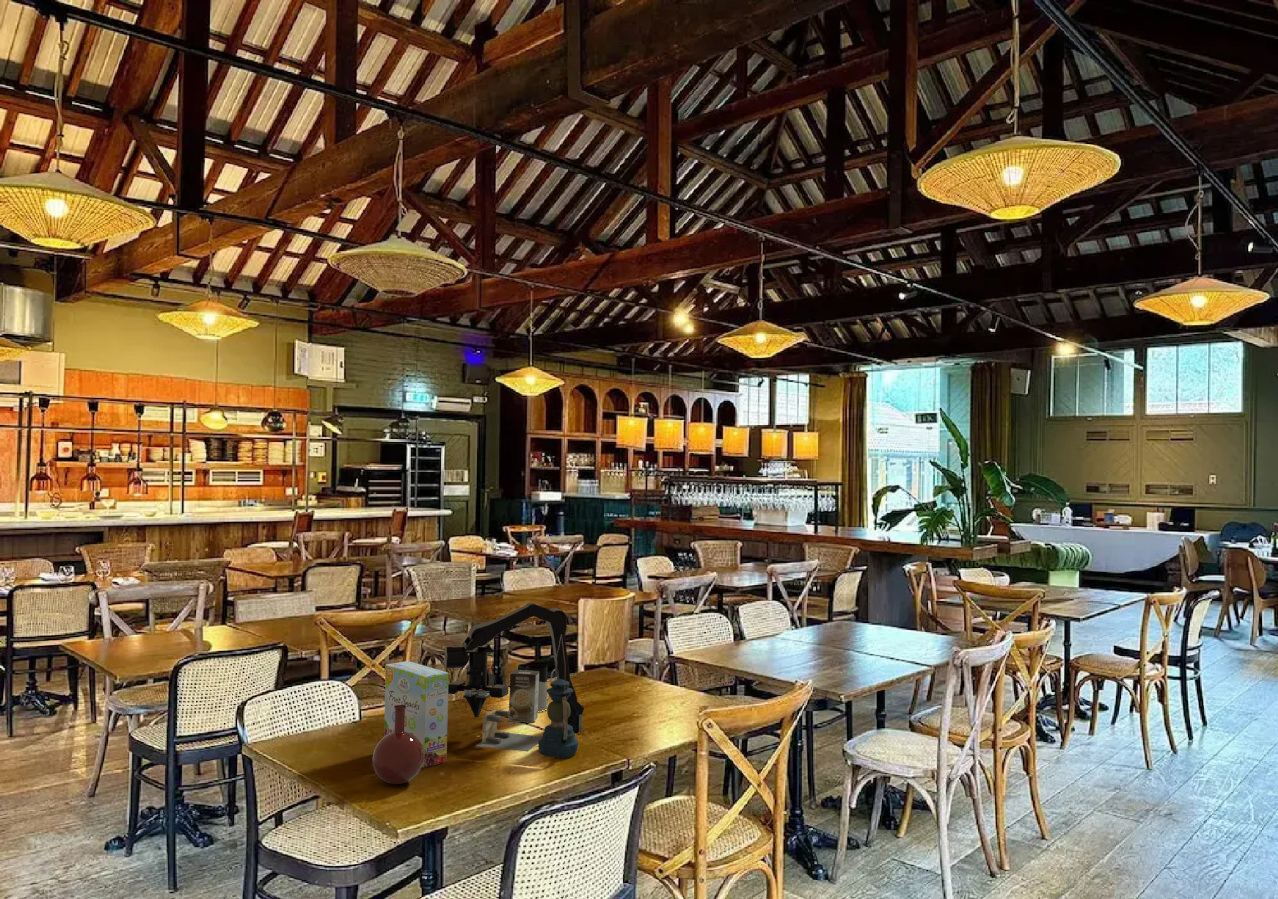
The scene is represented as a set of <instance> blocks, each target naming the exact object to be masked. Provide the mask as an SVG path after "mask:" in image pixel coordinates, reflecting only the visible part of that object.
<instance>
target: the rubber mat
mask: <svg viewBox="0 0 1278 899" xmlns="http://www.w3.org/2000/svg"><path fill="white" fill-rule="evenodd" d="M542 736H543V735H542ZM542 736H541V735H532V734H523V733H511V732H510V736H509V738H501V743H500V744H493V743H483V742H482V741H480V742H479V743H477V744H476V745H475V747H482V748H489V749H491V748H492V749H501V750H510V751H520V752H529V751H531V750H532V749H533V748H534V747H536V746H538V742H539V740H540V739H542ZM494 738H500V737H494Z"/></svg>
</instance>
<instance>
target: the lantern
mask: <svg viewBox="0 0 1278 899" xmlns="http://www.w3.org/2000/svg"><path fill="white" fill-rule="evenodd" d="M561 639H562V634H561V636H560V640H561ZM559 645H560V641H559ZM562 647H563V641H562ZM558 650H559V646H558ZM557 655H558V651H557ZM557 655H556V662H557ZM563 655H564V648H563ZM564 663H565V656H564ZM554 669H555V671H554V672H555V673H554V680H553V681H550V683H549V685H550V687H549V688H548V687H547V690H546V691H547V696H548V697H551V698H550V699H551V701H550V702H548V704H547V707H548V708H547V711H546V714H547V717H548V719H549V720H550V721H551V722H550V724H547V725H546V726H544V731H543V732H542V739H540V740H539V742H538V744H537V746H538V751H539V753H540V754H541V755H543V756H545V757H552V758H554V759H565V758H570V757H573V756H575V755H576V754H577V751H578V748H579V740H578V739H577V738H576V737H575V734H576V733H574V732H573V727H572V726H570V725H568V723H567V719H568V718H569V716H570V705H569V703H568V702H567V700H568V697H569V696H571V693H572V692H573V689H571V688H567V687H568V686H569V682H567V681H565V680H562V679H558V680H557V676H556V666H555V665H554ZM565 676H566V665H565ZM575 753H576V754H575ZM574 754H575V755H574Z"/></svg>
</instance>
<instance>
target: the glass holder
mask: <svg viewBox="0 0 1278 899" xmlns="http://www.w3.org/2000/svg"><path fill="white" fill-rule="evenodd" d="M525 670H528V671H539V691H538V711H542V710H545V709H547V708H548V704H549V702H548V701H549V700H550V699H551V697H550V696H548V693H547V691H546V690H547V689H548V683H549V682H550V683H551V682H552V679H553V674H554V672H555V668H554V669H553V670H552V671H551V673H550V679H549V680H548V665H545V664H529V665H527V666H526V668H525Z"/></svg>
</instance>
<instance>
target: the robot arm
mask: <svg viewBox="0 0 1278 899" xmlns="http://www.w3.org/2000/svg"><path fill="white" fill-rule="evenodd" d="M532 617H533V618H538V619H540V620H542V621H545V623H546V626H547V627H546V628H547V629H548V632H549V634H550V637H551V643H552V651H553V657H554V658H553V660H554V667H555V666H556V680H558V679H562V680H565V681H567V682H569V686H568V687H567V688H571V689H573V692H572V693H571V696H569V697H568V700H567V702H568V703H569V705H570V716H569V718H568V719H567V723H568V725H570V726H572V727H573V732H574V733H575V734H579V733H580V732H581V731H583V730H584V729H585V728H584V727H583V713H584V711H585V708H584V707H583V705H582V704H581V703H580V702H579V701H578V697H577V693H576V690H575V687H574V685H573V682H572V681H571V675H570V666H569V661H568V660H569V658H568V651H567V650H568V649H567V643H566V635H567V634H566V633H567V630H568V629H567V627H568V617H567V613H565V612H564V611H563V610H562V609H559V608H557V607H551V608H547V607H545V606H543V605H542V606H541V605H539V604H536V603H534V602H532V601H531V602H528V603H526V604H525V605H523V606H521V607H519V608H517V609H515V610H513V611H511V612H508V613H506V614H504V615H503V616H501V617H499V618H496V619H494V620H491V621H486V622H481V623H478V624H475V625H472V626H471V627H470V628H469V630H468V634H467V637H466V638H465V639H464V640H463V642H462V643H461V645H456V646H455V645H454V646H453V645H446V646H445V650H444V655H443V666H444V667H443V668H444V669H445V670H447V669H448V670H449V669H463V668H464V667H465V666H467V665H468V670H467V671H466V675H468V677H467V678H468V679H467V680H468V683H466V681H459V680H458V681H456V680H454V681H452V682H451V683H448V695H456V694H457V693H458V692H464V695H463V696H462V697H463V698H464V699H465V700H466V701H467V703H468V705H469V707H470V710H471V711H472V714H473V716H474V718H476V719H478V718H479V717H480V715H481V712H482V709H483V706H484V703H485V702H486V700H487V699H488V698H489V697H491V698H496V699H497V698H498V699H501V698H504V697H506V696H507V695H509V687H508V686H507V684H495V679H496V675H494V674H492V673H490V669H489V668H488V653H494V652H495V650H494V648H492V647H491V645H490V644H489V642H491V641H492V640H494V639H495V638H496V637H497V636H498V635H499V634H501V633H503V632H504V631H506V630H508V629H510V628H512V627H514V626H516V625H518V624H520V623H522V622H524V621H527V620H528V619H530V618H532ZM561 634H562V639H561V640H560V636H561ZM559 641H560V645H559ZM562 641H563V647H562ZM558 646H559V650H558ZM563 648H564V655H563ZM557 651H558V655H557ZM556 655H557V662H556ZM564 656H565V663H564ZM565 665H566V676H565Z"/></svg>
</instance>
